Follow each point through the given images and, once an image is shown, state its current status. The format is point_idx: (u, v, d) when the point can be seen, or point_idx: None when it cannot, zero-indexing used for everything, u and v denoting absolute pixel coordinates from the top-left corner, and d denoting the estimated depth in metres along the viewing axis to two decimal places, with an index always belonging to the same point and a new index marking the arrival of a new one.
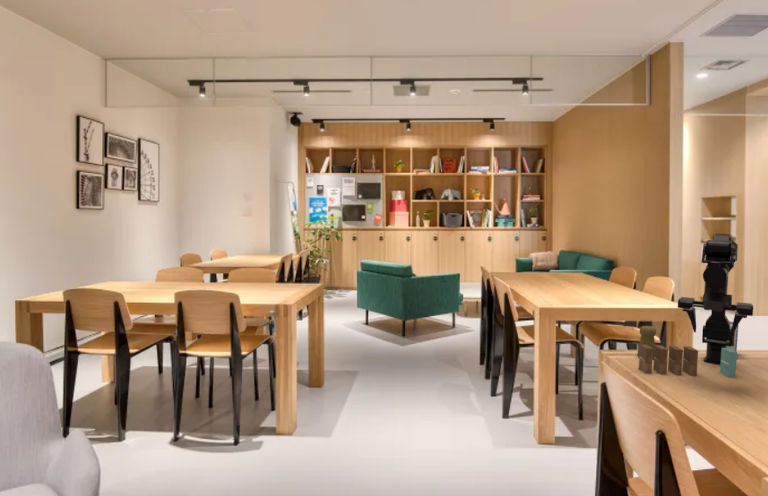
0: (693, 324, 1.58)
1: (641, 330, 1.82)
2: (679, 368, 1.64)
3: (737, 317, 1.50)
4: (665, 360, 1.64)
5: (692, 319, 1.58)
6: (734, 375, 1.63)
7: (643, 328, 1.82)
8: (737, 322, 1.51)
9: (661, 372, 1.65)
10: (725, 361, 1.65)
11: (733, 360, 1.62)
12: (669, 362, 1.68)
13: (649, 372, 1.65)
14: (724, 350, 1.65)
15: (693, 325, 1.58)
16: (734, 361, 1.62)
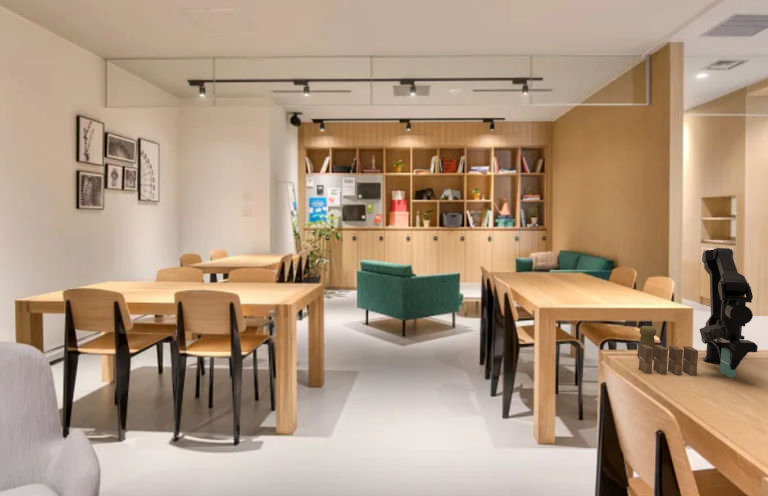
0: (719, 356, 1.68)
1: (641, 330, 1.82)
2: (679, 368, 1.64)
3: (727, 350, 1.61)
4: (665, 360, 1.64)
5: (718, 351, 1.68)
6: (734, 375, 1.63)
7: (643, 328, 1.82)
8: (731, 355, 1.61)
9: (661, 372, 1.65)
10: (725, 361, 1.65)
11: None
12: (669, 362, 1.68)
13: (649, 372, 1.65)
14: (724, 350, 1.65)
15: (720, 357, 1.68)
16: None
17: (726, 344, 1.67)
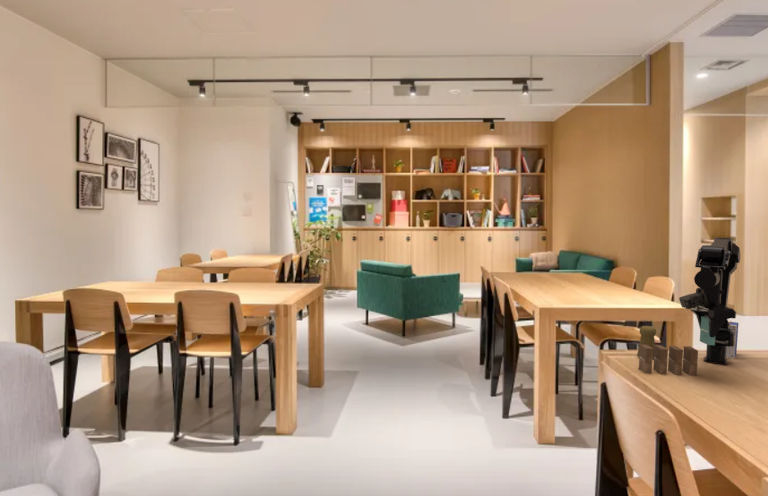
0: (699, 325, 1.68)
1: (641, 330, 1.82)
2: (679, 368, 1.64)
3: (706, 317, 1.61)
4: (665, 360, 1.64)
5: (698, 320, 1.68)
6: (713, 343, 1.62)
7: (643, 328, 1.82)
8: (710, 322, 1.61)
9: (661, 372, 1.65)
10: (704, 329, 1.64)
11: None
12: (669, 362, 1.68)
13: (649, 372, 1.65)
14: (703, 318, 1.65)
15: (699, 326, 1.68)
16: None
17: (706, 313, 1.67)
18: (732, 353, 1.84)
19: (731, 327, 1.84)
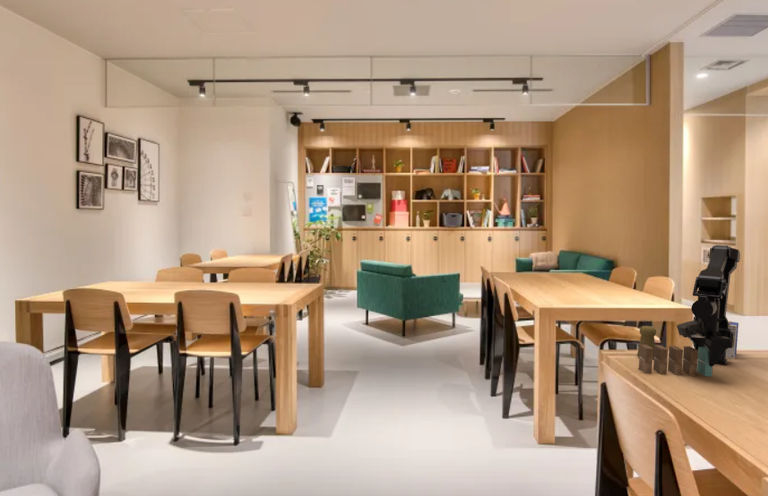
0: None
1: (641, 330, 1.82)
2: (679, 368, 1.64)
3: (705, 346, 1.60)
4: (665, 360, 1.64)
5: (694, 346, 1.70)
6: (710, 374, 1.63)
7: (643, 328, 1.82)
8: (709, 352, 1.60)
9: (661, 372, 1.65)
10: (702, 360, 1.65)
11: None
12: (669, 362, 1.68)
13: (649, 372, 1.65)
14: (701, 349, 1.66)
15: None
16: None
17: (702, 339, 1.69)
18: (732, 353, 1.84)
19: (731, 327, 1.84)
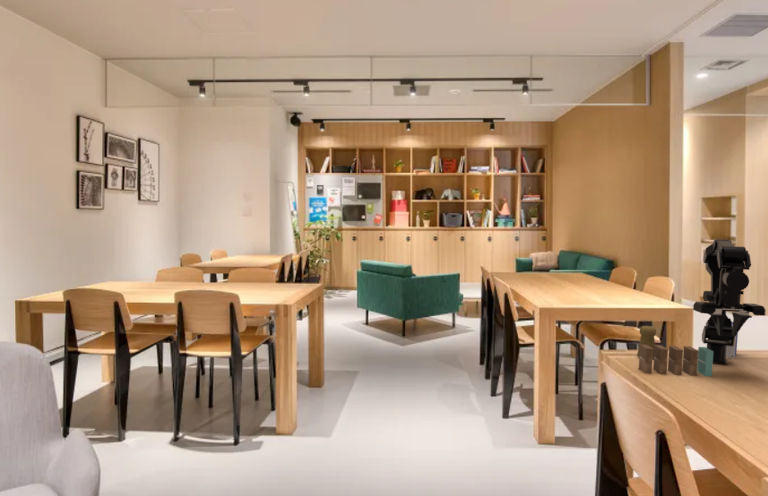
0: None
1: (641, 330, 1.82)
2: (679, 368, 1.64)
3: None
4: (665, 360, 1.64)
5: None
6: (710, 374, 1.63)
7: (643, 328, 1.82)
8: None
9: (661, 372, 1.65)
10: (702, 360, 1.65)
11: (709, 359, 1.63)
12: (669, 362, 1.68)
13: (649, 372, 1.65)
14: (701, 349, 1.66)
15: None
16: (710, 360, 1.63)
17: (738, 316, 1.63)
18: (732, 353, 1.84)
19: None
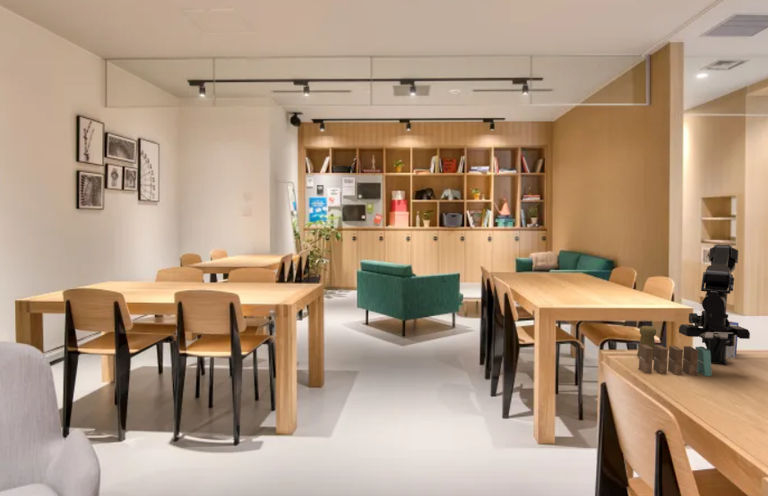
0: None
1: (641, 330, 1.82)
2: (679, 368, 1.64)
3: None
4: (665, 360, 1.64)
5: None
6: (710, 373, 1.63)
7: (643, 328, 1.82)
8: None
9: (661, 372, 1.65)
10: (700, 360, 1.65)
11: (707, 359, 1.63)
12: (669, 362, 1.68)
13: (649, 372, 1.65)
14: (698, 349, 1.66)
15: None
16: (708, 359, 1.63)
17: (716, 338, 1.64)
18: (732, 353, 1.84)
19: None
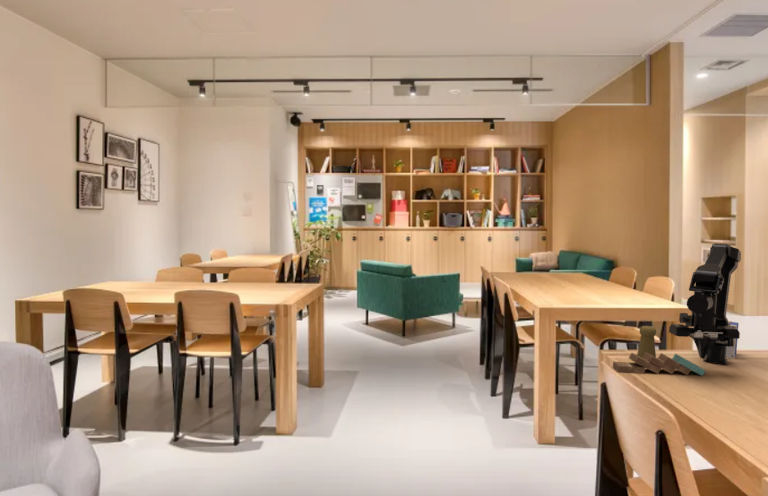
0: None
1: (641, 330, 1.82)
2: (668, 367, 1.64)
3: None
4: (647, 363, 1.65)
5: None
6: (703, 370, 1.63)
7: (643, 328, 1.82)
8: None
9: (657, 371, 1.65)
10: None
11: (688, 364, 1.64)
12: None
13: (643, 369, 1.65)
14: (675, 360, 1.67)
15: None
16: (689, 364, 1.64)
17: (706, 338, 1.64)
18: (732, 353, 1.84)
19: None
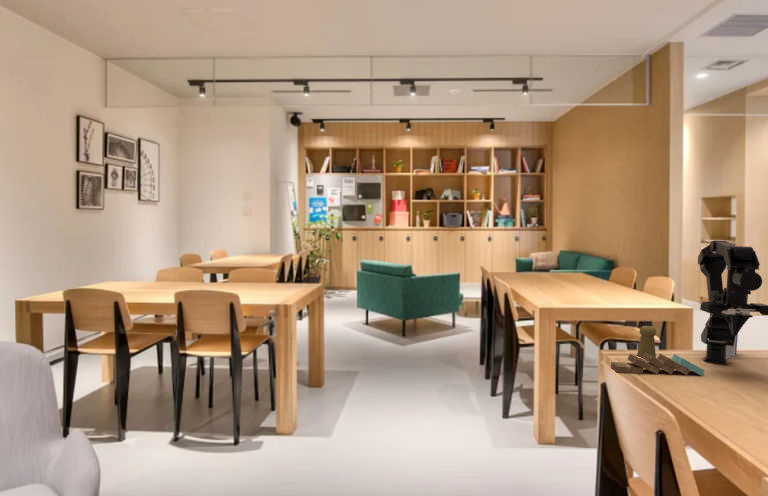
0: None
1: (641, 330, 1.82)
2: (667, 367, 1.64)
3: None
4: (646, 364, 1.64)
5: None
6: (702, 370, 1.63)
7: (643, 328, 1.82)
8: None
9: (656, 372, 1.64)
10: None
11: (688, 364, 1.63)
12: None
13: (641, 369, 1.65)
14: (675, 361, 1.67)
15: None
16: (689, 364, 1.63)
17: (739, 315, 1.64)
18: (732, 353, 1.84)
19: None
